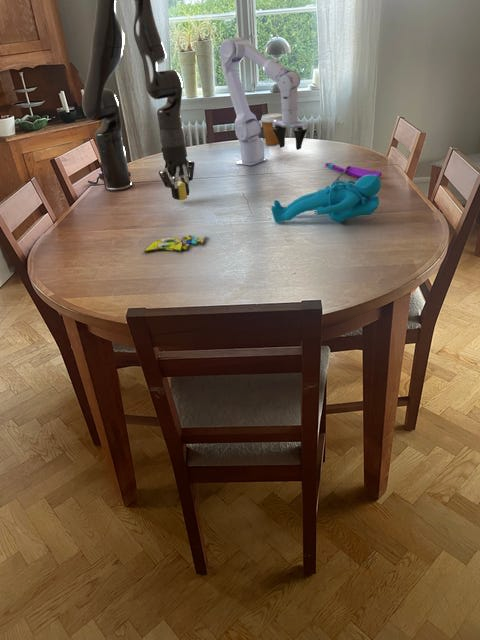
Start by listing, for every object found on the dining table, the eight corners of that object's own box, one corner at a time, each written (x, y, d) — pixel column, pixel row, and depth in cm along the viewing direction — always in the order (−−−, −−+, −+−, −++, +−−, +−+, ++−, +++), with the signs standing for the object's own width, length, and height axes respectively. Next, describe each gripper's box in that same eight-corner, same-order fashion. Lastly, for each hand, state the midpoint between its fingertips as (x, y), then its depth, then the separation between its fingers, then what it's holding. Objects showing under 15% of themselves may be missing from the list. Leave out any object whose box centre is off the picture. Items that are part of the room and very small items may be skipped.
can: (174, 200, 157) (172, 186, 154) (177, 196, 160) (175, 182, 157) (186, 199, 156) (183, 185, 154) (188, 196, 160) (186, 182, 157)
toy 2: (275, 189, 144) (378, 163, 133) (284, 222, 149) (384, 199, 138) (266, 210, 130) (379, 182, 120) (276, 245, 135) (386, 221, 125)
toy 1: (199, 248, 125) (143, 249, 127) (199, 251, 125) (144, 252, 127) (206, 233, 133) (154, 234, 135) (206, 236, 133) (154, 237, 136)
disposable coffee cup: (259, 145, 216) (257, 117, 209) (266, 140, 223) (265, 113, 216) (279, 146, 212) (278, 117, 206) (286, 140, 220) (285, 112, 213)
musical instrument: (369, 191, 157) (389, 166, 169) (368, 185, 155) (389, 160, 168) (302, 188, 169) (326, 165, 182) (302, 182, 168) (325, 160, 180)
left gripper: (163, 149, 142) (173, 205, 151) (197, 138, 151) (204, 192, 160) (147, 147, 147) (157, 201, 156) (181, 137, 155) (189, 189, 164)
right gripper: (267, 110, 175) (268, 148, 182) (299, 112, 167) (300, 152, 174) (278, 106, 179) (279, 144, 187) (311, 108, 171) (311, 148, 178)
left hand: (181, 196), depth 158 cm, fingers closed on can, 3 cm apart
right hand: (290, 148), depth 181 cm, fingers open, 7 cm apart
